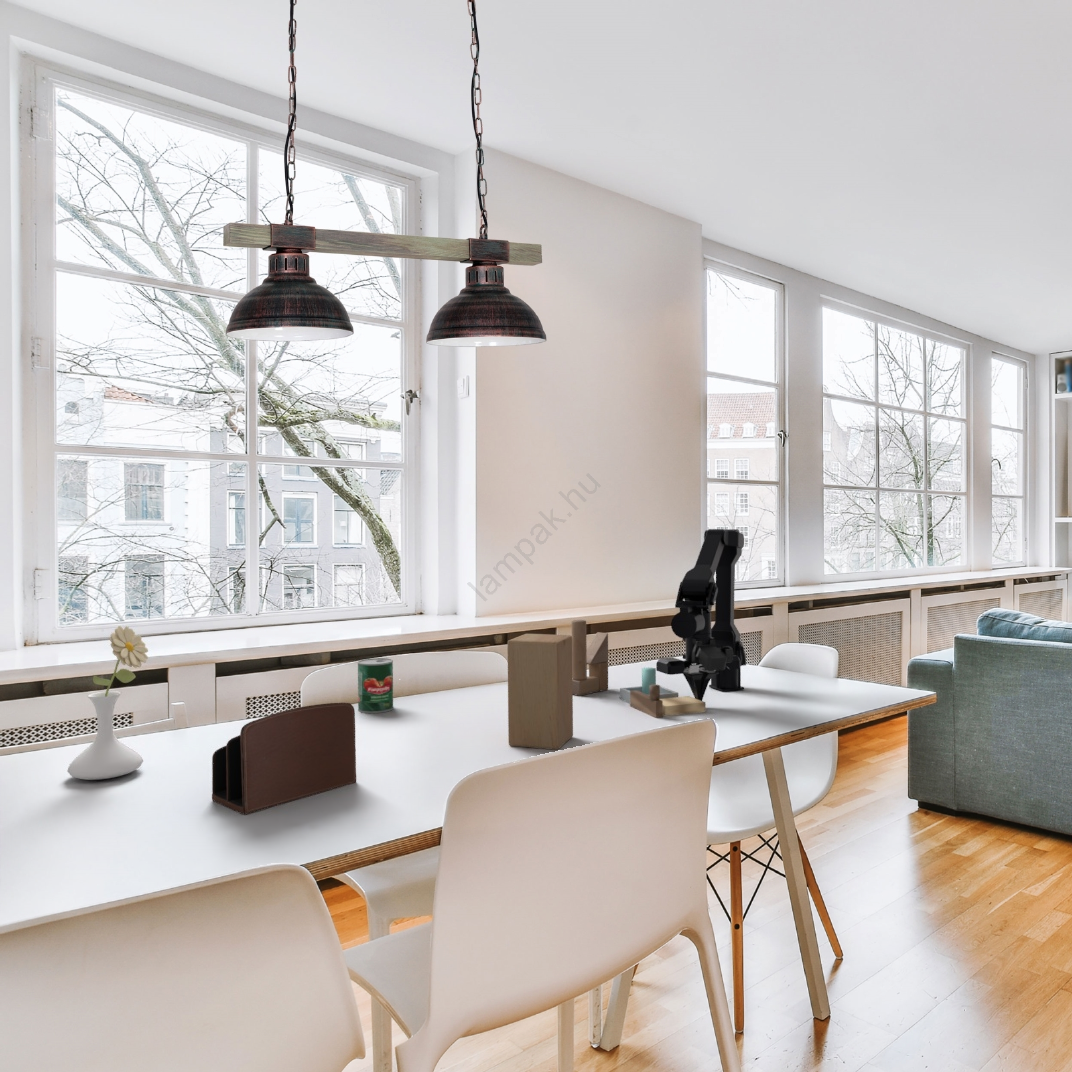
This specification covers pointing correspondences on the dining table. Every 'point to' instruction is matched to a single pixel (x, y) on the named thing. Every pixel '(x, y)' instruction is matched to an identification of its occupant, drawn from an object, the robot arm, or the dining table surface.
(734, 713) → the dining table surface
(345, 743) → the letter holder
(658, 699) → the rail
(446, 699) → the dining table surface
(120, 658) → the flower in vase
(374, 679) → the canned tomato
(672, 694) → the tray
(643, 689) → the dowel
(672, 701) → the board
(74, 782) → the dining table surface
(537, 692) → the wooden block
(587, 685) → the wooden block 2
